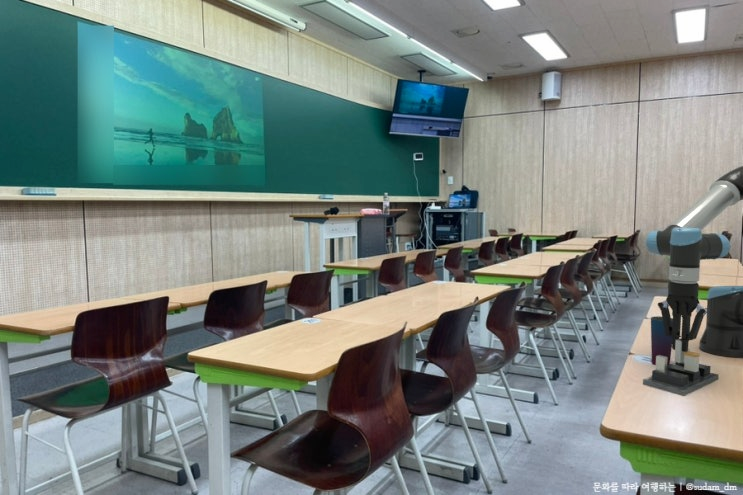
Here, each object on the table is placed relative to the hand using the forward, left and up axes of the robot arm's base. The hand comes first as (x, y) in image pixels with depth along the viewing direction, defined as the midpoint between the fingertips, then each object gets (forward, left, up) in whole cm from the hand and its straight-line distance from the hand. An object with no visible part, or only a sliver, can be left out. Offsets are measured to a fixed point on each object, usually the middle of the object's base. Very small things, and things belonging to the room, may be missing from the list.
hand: (679, 361), depth 151 cm
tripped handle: (0, +3, -2) cm, 4 cm away
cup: (-12, -11, -6) cm, 17 cm away
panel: (0, +1, -6) cm, 6 cm away
